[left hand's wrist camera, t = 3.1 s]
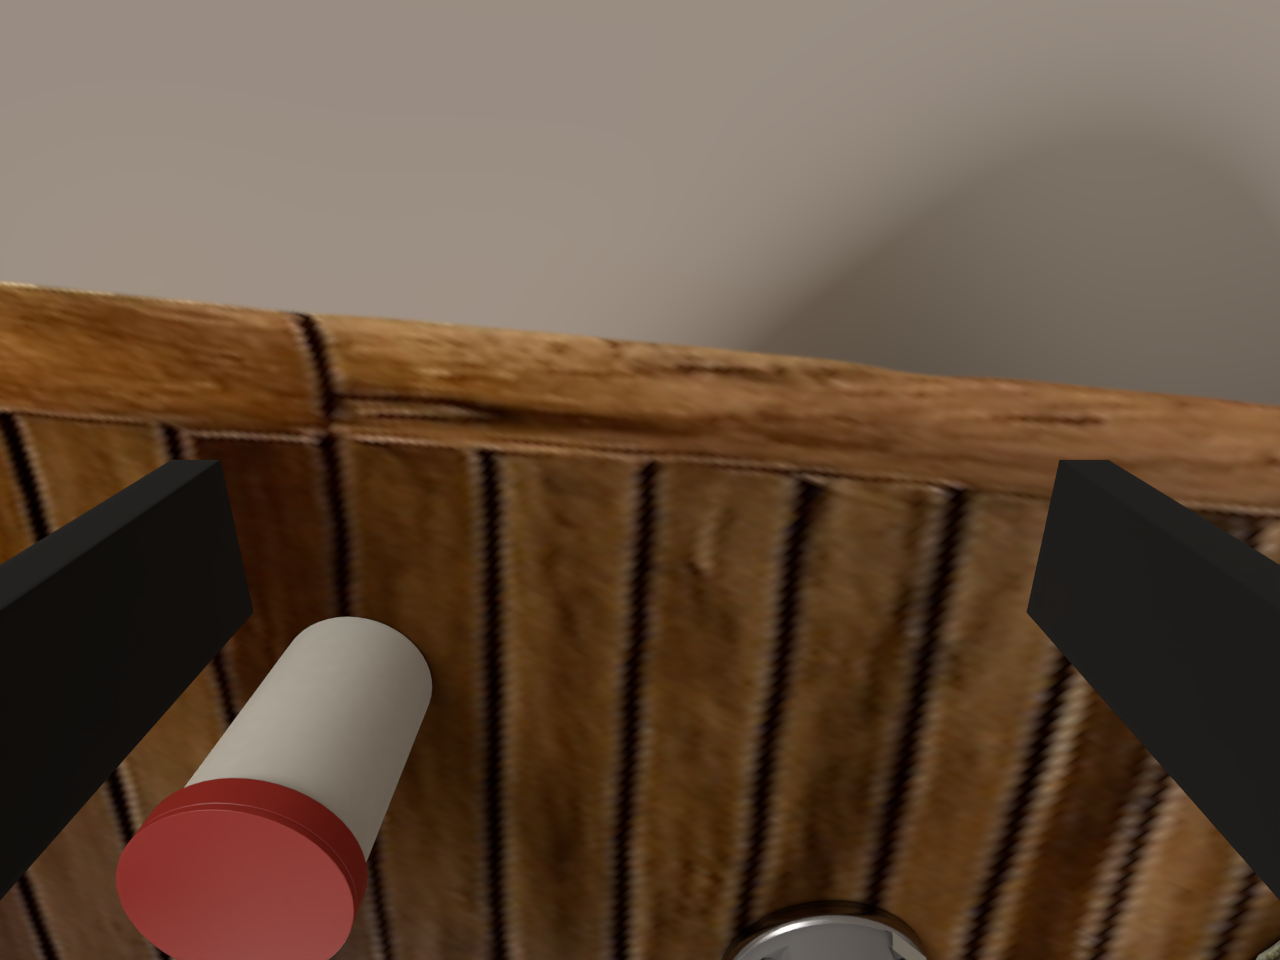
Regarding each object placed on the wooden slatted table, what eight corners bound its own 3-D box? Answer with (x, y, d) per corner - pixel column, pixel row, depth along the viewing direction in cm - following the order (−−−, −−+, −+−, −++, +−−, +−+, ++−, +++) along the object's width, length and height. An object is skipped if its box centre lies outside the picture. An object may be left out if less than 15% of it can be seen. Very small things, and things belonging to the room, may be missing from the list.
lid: (402, 832, 34) (390, 866, 32) (321, 969, 37) (306, 1007, 35) (180, 742, 32) (154, 774, 30) (115, 895, 35) (88, 931, 33)
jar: (456, 656, 46) (378, 861, 33) (398, 759, 49) (303, 988, 35) (314, 591, 45) (169, 779, 31) (263, 702, 48) (109, 919, 34)
